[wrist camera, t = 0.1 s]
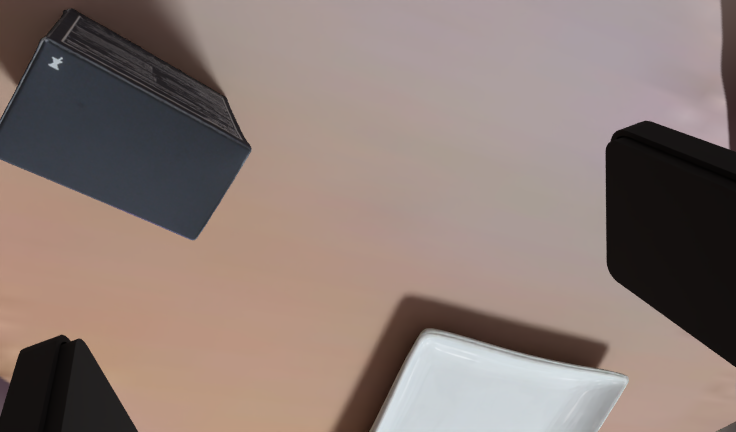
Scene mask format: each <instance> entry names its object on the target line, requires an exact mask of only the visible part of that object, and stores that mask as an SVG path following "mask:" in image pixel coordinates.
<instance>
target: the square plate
mask: <svg viewBox="0 0 736 432" xmlns="http://www.w3.org/2000/svg"><path fill="white" fill-rule="evenodd" d="M628 382H629V379H628V377H627V376H626V375H624V374H621V373H617V372H613V371H608V370H604V369H598V368H592V367H587V366H581V365H575V364H570V363H565V362H560V361H555V360H550V359H546V358H541V357H537V356H533V355H529V354H525V353H521V352H517V351H513V350H510V349H506V348H503V347H499V346H496V345H493V344H489V343H486V342H483V341H479V340H476V339H473V338H469V337H466V336H462V335H458V334H455V333H451V332H447V331H443V330H439V329H434V328H427V329H424V330H423V331H422V332H421V333H420V335H419V336H418V338H417V339H416V341H415V343H414V345H413V346H412V348H411V350H410V352H409V353H408V355H407V357H406V359H405V361H404V363H403V365H402V367H401V369H400V371H399V373H398V375H397V377H396V379H395V381H394V383H393V385H392V387H391V389H390V391H389V393H388V395H387V397H386V399H385V401H384V403H383V405H382V407H381V409H380V411H379V413H378V415H377V417H376V419H375V421H374V423H373V425H372V427H371V429H370V431H369V432H598V430H599V429H600V427H601V426H602V424H603V422H604V421H605V419H606V418H607V416H608V415H609V413H610V411H611V410H612V408H613V406H614V405H615V403H616V402H617V400H618V399H619V397H620V395H621V394H622V392H623V390H624V389H625V387H626V385H627V383H628Z"/></svg>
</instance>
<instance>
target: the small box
mask: <svg viewBox="0 0 736 432" xmlns="http://www.w3.org/2000/svg"><path fill="white" fill-rule="evenodd" d="M250 152H251V146H250V145H249V143H248V142H247V141H246V139H245V138H244V136H243V134H242V132H241V130H240V127H239V125H238V123H237V121H236V119H235V117H234V115H233V113H232V110H231V108H230V106H229V103H228V100H227V98H226V97H224V96H222V95H220V94H219V93H217V92H216V91H214V90H212V89H211V88H209V87H207V86H206V85H204V84H202V83H200V82H198V81H197V80H195V79H193V78H192V77H190V76H188V75H187V74H185V73H183V72H182V71H181V70H178V69H176V68H175V67H173V66H171V65H169V64H168V63H166V62H164V61H162V60H161V59H159V58H157V57H155V56H154V55H152V54H151V53H149V52H147V51H145V50H144V49H142V48H141V47H140V46H137V45H135V44H133V43H132V42H131V41H128V40H126V39H124V38H123V37H121V36H119V35H118V34H116V33H115V32H113V31H111V30H109V29H107V28H106V27H104V26H102V25H100V24H98V23H96V22H95V21H93V20H91V19H89V18H88V17H86V16H84V15H82V14H80V13H79V12H77V11H76V10H74V9H67V10H64V11H63V15H62V16H61V19H60V20H59V21H58V22H56V24H55V25H54V27H53V28H52V29H51V30H50V31H49V33H48V34H47V35H46V36H45V37H44V38H42V39H41V40H40V42H39V45H38V47H37V49H36V51H35V53H34V55H33V57H32V59H31V61H30V63H29V65H28V67H27V69H26V70H25V72H24V75H23V77H22V78H21V80H20V82H19V84H18V86H17V88H16V90H15V92H14V94H13V96H12V98H11V100H10V102H9V103H8V106H7V107H6V109H5V111H4V113H3V115H2V117H1V119H0V159H1V160H3V161H5V162H8V163H10V164H12V165H15V166H17V167H20V168H22V169H24V170H27V171H29V172H32V173H34V174H36V175H39V176H41V177H44V178H46V179H48V180H51V181H53V182H56V183H58V184H60V185H63V186H65V187H68V188H70V189H72V190H75V191H77V192H80V193H82V194H84V195H87V196H89V197H91V198H94V199H96V200H99V201H101V202H104V203H106V204H108V205H111V206H113V207H115V208H117V209H120V210H122V211H125V212H127V213H129V214H132V215H134V216H136V217H139V218H141V219H143V220H146V221H148V222H150V223H153V224H155V225H157V226H160V227H162V228H164V229H167V230H169V231H171V232H174V233H176V234H178V235H181V236H183V237H185V238H188V239H190V240H195V239H197V237H198V236H199V234H200V233H201V231H202V230H203V228H204V227H205V226H206V224H207V222H208V221H209V219H210V217H211V216H212V214H213V213H214V211H215V209H216V208H217V206H218V205H219V203H220V202H221V200H222V198H223V197H224V195H225V193H226V191H227V190H228V188H229V187H230V185H231V184H232V182H233V181H234V179H235V177H236V175H237V174H238V172H239V170H240V169H241V167H242V166H243V164H244V162H245V161H246V159H247V158H248V156H249V154H250Z"/></svg>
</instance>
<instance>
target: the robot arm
mask: <svg viewBox="0 0 736 432" xmlns="http://www.w3.org/2000/svg"><path fill="white" fill-rule="evenodd" d="M606 241H607V267H608V270H609V272H610V274H611V275H612V277H613V278H614V279H615V280H616V281H617V282H618V283H620V284H621V285H622V286H624V287H625V288H627V289H628V290H629V291H631V292H632V293H634V294H635V295H636V296H638V297H639V298H641V299H642V300H643V301H645V302H646V303H647V304H649V305H650V306H652V307H653V308H654V309H656V310H657V311H659V312H660V313H661V314H663V315H664V316H665V317H667V318H668V319H670V320H671V321H672V322H674V323H675V324H677V325H678V326H679V327H681V328H682V329H683V330H685V331H686V332H688V333H689V334H690V335H692V336H693V337H695V338H696V339H697V340H699V341H700V342H701V343H703V344H704V345H706V346H707V347H708V348H710V349H711V350H713V351H714V352H715V353H717V354H718V355H720V356H721V357H722V358H724V359H725V360H726V361H728V362H729V363H731V364H732V365H733V366H735V367H736V152H734V151H732V150H729V149H726V148H723V147H720V146H718V145H715V144H712V143H709V142H707V141H704V140H701V139H698V138H695V137H693V136H690V135H687V134H684V133H681V132H679V131H676V130H673V129H670V128H667V127H665V126H662V125H659V124H656V123H654V122H650V121H643V122H640V123H637V124H634V125H632V126H629V127H626V128H624V129H621V130H618V131H616V132H615V133H614V134H613V136H612V138H611V142H609V143H608V145H607V147H606ZM0 432H138V431H137V429H136V427H135V426H134V424H133V422H132V421H131V419H130V417H129V416H128V414H127V412H126V410H125V409H124V407H123V405H122V404H121V402H120V400H119V399H118V397H117V395H116V394H115V392H114V390H113V389H112V387H111V385H110V383H109V382H108V380H107V378H106V377H105V375H104V373H103V372H102V370H101V368H100V367H99V365H98V363H97V362H96V360H95V358H94V356H93V355H92V353H91V351H90V350H89V348H88V346H87V345H86V343H85V342H84V341H83V340H82V339H76V340H74V341H70V340H69V339H68V338H67V337H66V336H64V335H60V336H57V337H54V338H51V339H49V340H46V341H43V342H40V343H38V344H35V345H32V346H30V347H27V348H24V349H22V350H21V351H20V353H19V356H18V359H17V362H16V366H15V369H14V372H13V376H12V379H11V382H10V386H9V389H8V393H7V396H6V399H5V403H4V406H3V410H2V413H1V416H0ZM716 432H736V422H734V423H732V424H730V425H728V426H726V427H724V428H722V429H720V430H718V431H716Z"/></svg>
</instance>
